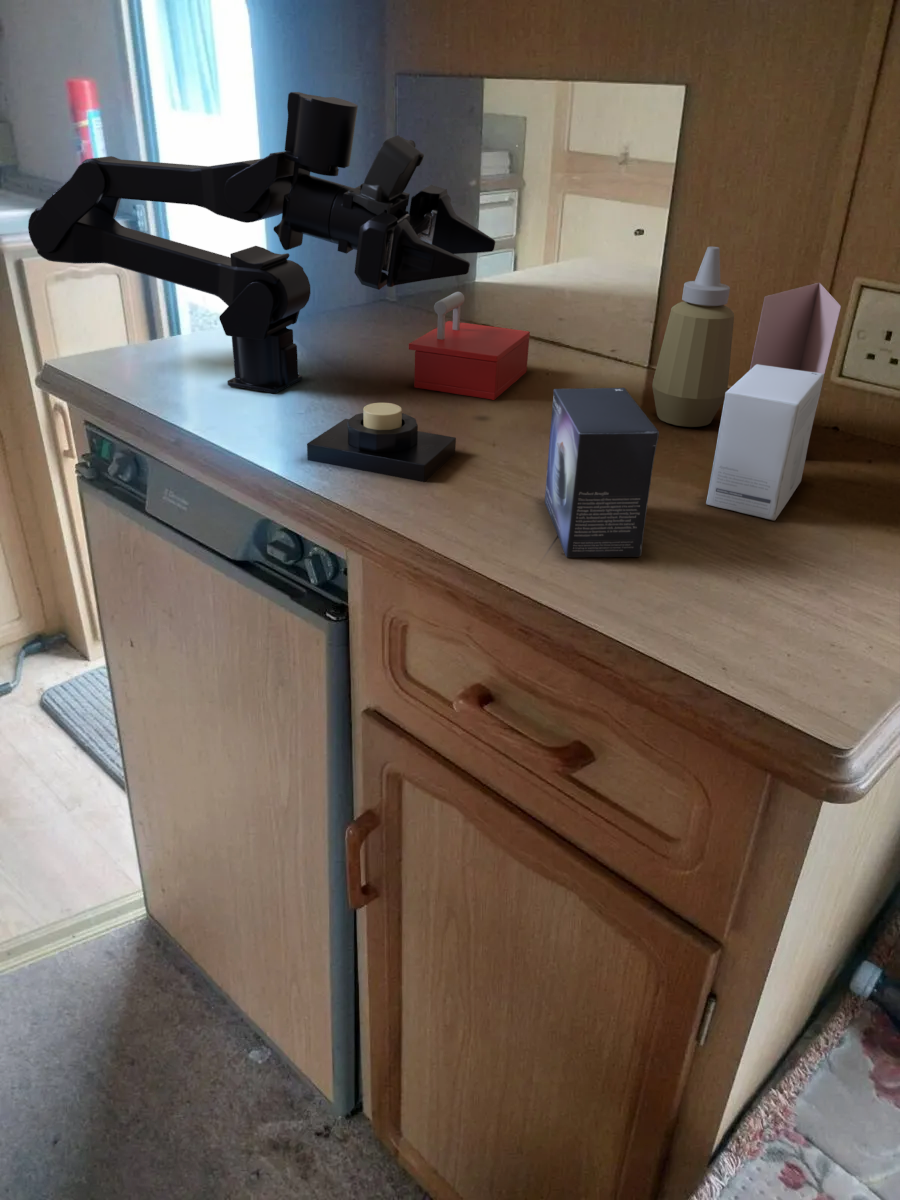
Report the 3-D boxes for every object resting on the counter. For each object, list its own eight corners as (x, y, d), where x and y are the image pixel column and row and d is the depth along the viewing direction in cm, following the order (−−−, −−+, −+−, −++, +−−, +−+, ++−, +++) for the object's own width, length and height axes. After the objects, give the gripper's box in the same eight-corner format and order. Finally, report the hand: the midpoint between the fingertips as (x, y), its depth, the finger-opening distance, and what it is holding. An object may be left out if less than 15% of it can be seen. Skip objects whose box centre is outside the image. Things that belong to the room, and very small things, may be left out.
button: (357, 429, 85) (356, 411, 84) (373, 417, 88) (373, 400, 87) (392, 435, 84) (392, 417, 83) (407, 423, 87) (407, 405, 86)
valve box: (414, 387, 107) (414, 351, 105) (452, 361, 117) (453, 327, 115) (494, 400, 104) (496, 362, 102) (526, 372, 114) (529, 337, 112)
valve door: (408, 349, 105) (408, 304, 103) (448, 326, 115) (449, 284, 113) (496, 362, 102) (499, 315, 99) (529, 337, 112) (533, 294, 110)
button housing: (307, 460, 86) (305, 425, 85) (345, 434, 93) (344, 400, 91) (424, 482, 83) (425, 446, 81) (455, 453, 89) (457, 419, 88)
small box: (538, 502, 80) (549, 385, 75) (611, 502, 80) (627, 385, 75) (561, 558, 71) (575, 429, 65) (643, 558, 71) (664, 430, 66)
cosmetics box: (733, 468, 89) (755, 360, 83) (800, 483, 86) (828, 373, 81) (701, 504, 81) (723, 388, 76) (774, 522, 78) (803, 403, 73)
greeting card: (779, 420, 102) (811, 281, 94) (843, 439, 97) (882, 293, 90) (726, 444, 94) (756, 295, 87) (793, 464, 90) (831, 309, 82)
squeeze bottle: (727, 415, 102) (760, 246, 93) (713, 437, 96) (748, 257, 87) (656, 403, 105) (682, 238, 96) (638, 424, 99) (664, 248, 90)
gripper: (309, 144, 82) (471, 191, 80) (384, 118, 97) (523, 157, 95) (299, 267, 89) (448, 313, 87) (370, 225, 104) (500, 263, 102)
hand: (482, 256), depth 92 cm, fingers open, 9 cm apart
